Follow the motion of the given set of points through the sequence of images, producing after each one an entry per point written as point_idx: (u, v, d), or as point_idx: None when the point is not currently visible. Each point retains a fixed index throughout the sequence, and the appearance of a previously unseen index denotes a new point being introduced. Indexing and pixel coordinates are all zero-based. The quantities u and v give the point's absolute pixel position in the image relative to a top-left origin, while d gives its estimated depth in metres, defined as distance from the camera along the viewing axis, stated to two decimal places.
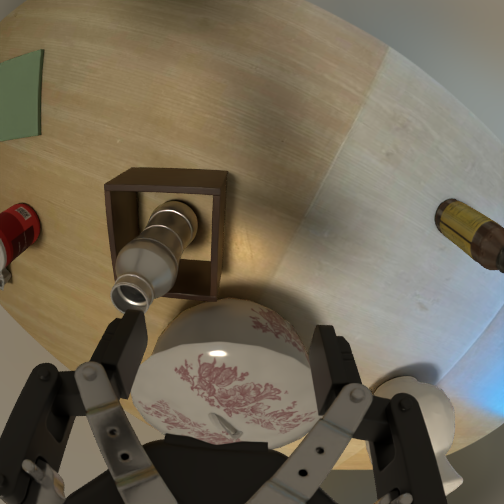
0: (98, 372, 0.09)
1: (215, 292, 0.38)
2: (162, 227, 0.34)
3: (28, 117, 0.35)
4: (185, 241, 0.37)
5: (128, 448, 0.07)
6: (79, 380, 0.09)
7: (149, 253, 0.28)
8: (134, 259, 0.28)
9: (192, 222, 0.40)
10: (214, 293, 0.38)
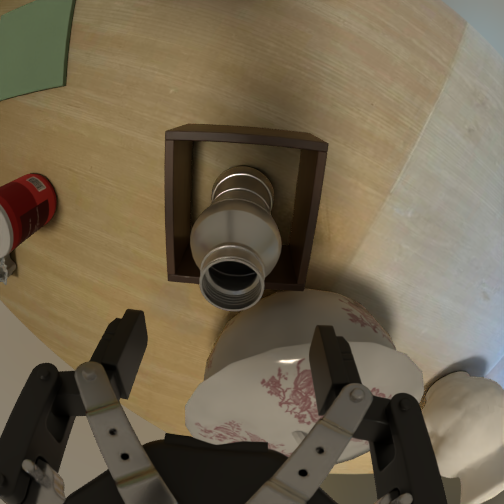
0: (98, 372, 0.09)
1: (304, 279, 0.30)
2: (246, 191, 0.26)
3: (51, 65, 0.27)
4: None
5: (128, 448, 0.07)
6: (79, 380, 0.09)
7: (251, 217, 0.20)
8: (231, 225, 0.19)
9: (271, 191, 0.31)
10: (303, 280, 0.30)
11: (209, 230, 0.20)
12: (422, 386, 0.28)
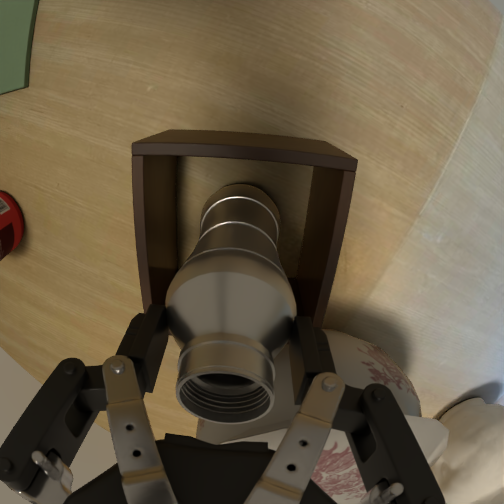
0: (126, 365, 0.10)
1: None
2: (245, 226, 0.19)
3: (12, 63, 0.20)
4: None
5: (142, 446, 0.07)
6: (106, 372, 0.10)
7: (253, 283, 0.13)
8: (223, 299, 0.12)
9: (277, 218, 0.24)
10: None
11: (190, 304, 0.13)
12: (447, 443, 0.21)
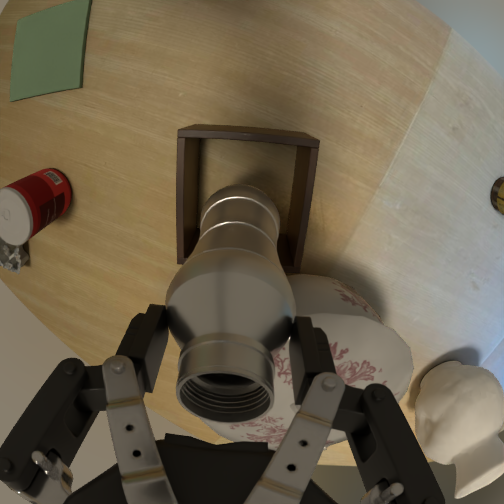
0: (126, 365, 0.10)
1: (300, 261, 0.34)
2: (245, 226, 0.19)
3: (68, 68, 0.30)
4: None
5: (142, 446, 0.07)
6: (106, 372, 0.10)
7: (253, 283, 0.13)
8: (223, 299, 0.12)
9: (277, 218, 0.24)
10: (299, 263, 0.34)
11: (190, 304, 0.13)
12: (412, 363, 0.31)
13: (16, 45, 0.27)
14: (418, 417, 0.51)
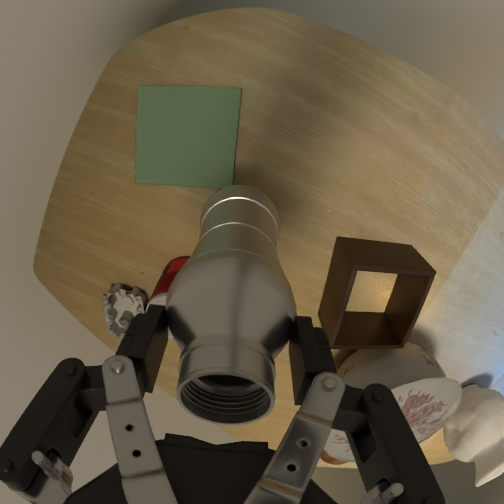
0: (126, 365, 0.10)
1: (405, 341, 0.44)
2: (245, 227, 0.19)
3: (218, 166, 0.41)
4: None
5: (141, 446, 0.07)
6: (106, 372, 0.10)
7: (253, 284, 0.13)
8: (224, 300, 0.12)
9: (277, 219, 0.24)
10: (404, 342, 0.45)
11: (190, 305, 0.13)
12: (461, 398, 0.42)
13: (141, 119, 0.38)
14: (447, 428, 0.62)
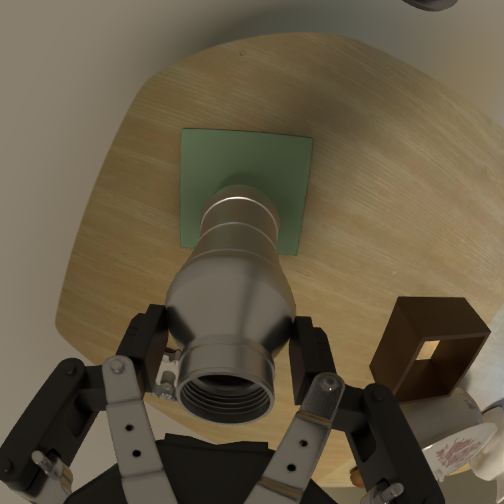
0: (126, 365, 0.10)
1: (452, 391, 0.39)
2: (245, 227, 0.19)
3: (283, 231, 0.36)
4: None
5: (141, 446, 0.07)
6: (106, 372, 0.10)
7: (252, 284, 0.13)
8: (223, 300, 0.12)
9: (277, 219, 0.24)
10: (452, 392, 0.39)
11: (189, 305, 0.13)
12: (494, 434, 0.37)
13: (186, 171, 0.33)
14: None
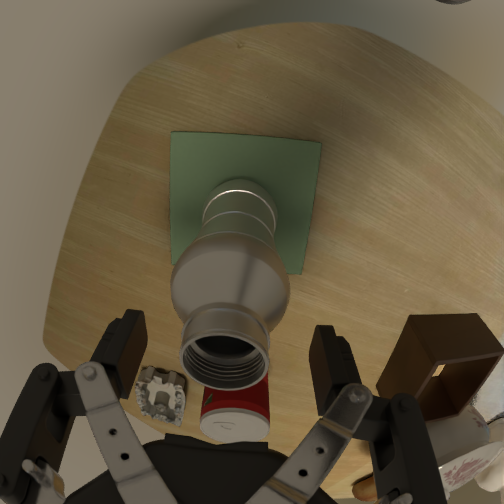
0: (98, 372, 0.09)
1: (462, 410, 0.35)
2: (244, 215, 0.20)
3: (286, 247, 0.32)
4: (273, 239, 0.23)
5: (128, 448, 0.07)
6: (79, 380, 0.09)
7: (250, 261, 0.15)
8: (223, 274, 0.14)
9: (274, 210, 0.26)
10: (461, 411, 0.36)
11: (193, 279, 0.14)
12: (502, 450, 0.33)
13: (177, 181, 0.29)
14: None
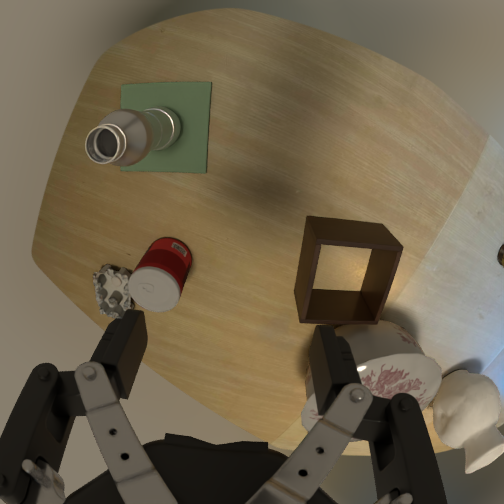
0: (98, 372, 0.09)
1: (379, 318, 0.48)
2: (144, 112, 0.33)
3: (193, 153, 0.44)
4: (165, 130, 0.36)
5: (128, 448, 0.07)
6: (79, 380, 0.09)
7: (127, 114, 0.27)
8: (113, 118, 0.26)
9: (174, 120, 0.38)
10: (378, 318, 0.48)
11: (102, 123, 0.27)
12: (441, 377, 0.45)
13: None
14: (436, 413, 0.65)
